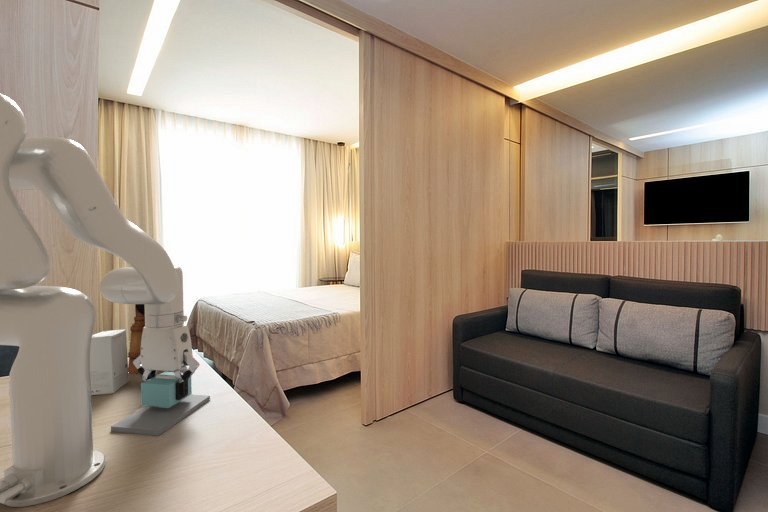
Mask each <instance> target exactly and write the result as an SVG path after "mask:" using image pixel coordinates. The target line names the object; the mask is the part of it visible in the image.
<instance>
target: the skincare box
mask: <svg viewBox="0 0 768 512" xmlns="http://www.w3.org/2000/svg"><path fill="white" fill-rule="evenodd" d="M127 344H128V343H127V329H114V330H103V331H100V332H98V333H93V334H92V338H91V345H90V381H91V396H96V395H97V396H98V395H110V394H111V395H113V394H115V393H116V392H117V391H118V390H120V388H122V387H123V386H125V385H126V384H127V383H129V382H130V381H129V380H130V379H129V373H128V365H129V357H128V345H127Z"/></svg>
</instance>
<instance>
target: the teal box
mask: <svg viewBox="0 0 768 512" xmlns="http://www.w3.org/2000/svg"><path fill="white" fill-rule="evenodd" d="M181 374H182V375H183V373H181ZM177 382H178V381H177V379H176V377H175V375H174V373H173V372H163V373H161V374H158V375H156V376H155V377H153V378H151V379H148V380H146V381H144V380H143V382H140V399H141V400H140V405H141V406H144V407H146V406H156V407H168V408H170V407H171V406H173V405H175V404H176V403H178V402H179V401H181V400H183V399H184V398H186V397H188V396H189V395H191V394H192V393H193V392H192V391H193V390H192V376H191V377H190V378H189V379H188V395H187V396H185V397H184V398H182V399H181V400H176V383H177ZM192 395H193V394H192Z"/></svg>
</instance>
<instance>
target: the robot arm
mask: <svg viewBox="0 0 768 512" xmlns="http://www.w3.org/2000/svg"><path fill="white" fill-rule="evenodd" d="M27 125H28V124H27V120H26V118H25V115H24V113H23V111H22V109H21V108H20V107H19V105H18V104H17V103H16V102H15V101H14V100H13V99H11V98H10V97H9V96H7V95H5V94H3V93H1V92H0V346H12V347H13V346H14V347H19V348H18V352H17V355H16V357H15V359H14V361H13V363H12V366H11V369H10V372H9V375H8V397H9V412H10V435H11V454H12V465H11V466H9V467H7V468H5V469H4V470H3V471H4V472H3V474H4V475H3V476H4V477H2V478H1V479H0V504H2V505H5V506H7V507H13V508H15V507H16V508H20V507H30V506H35V505H39V504H44V503H47V502H50V501H53V500H56V499H60V498H61V497H64V496H65V495H68V494H70V493H73V492H75V491H76V490H78V489H80V488H82V487H83V486H85V485H87V484H89V482H91V481H93V480H94V479H95V478H96V477H97V476H99V475H100V474H101V472H102V471H103V470H104V467H105V465H106V456H105V453H103V452H102V451H99V450H96V449H94V433H93V413H92V412H93V411H92V410H93V409H92V395H91V381H90V345H91V338H92V335H93V334H94V333H93V332H94V330H95V329H94V328H95V322H96V315H97V314H96V308H95V305H94V302H93V300H91V298H89V296H88V295H86V294H85V293H83V292H81V291H80V290H77V289H74V288H70V287H66V286H65V287H64V286H57V285H55V286H54V285H52V286H50V285H38V284H39V283H41V282H43V281H44V280H45V279H46V278H47V277H48V276H49V275H50V273H51V270H52V267H53V262H52V261H53V260H52V257H51V255H50V252H49V250H48V247H46V245H45V243H44V241H43V240H42V238H41V237H40V235H39V233H38V232H37V230H36V229H35V226H34V225H33V224H32V222H31V221H30V219H29V218H28V217H27V215H26V213H25V211H24V210H23V209H22V207H21V205H20V203H19V201H18V200H17V198H16V196H15V193H14V192H13V190H18V191H38V190H39V192H41V193H42V195H43V197H44V198H45V199H46V202H48V204H49V206H50V207H51V209H52V210H53V211H54V213H55V214H56V216H57V217H58V219H59V220H60V222H61V223H62V225H63V226H64V228H65V229H66V231H67V232H68V233H69V234H70V236H71V237H73V238H74V239H76V240H78V241H80V242H82V243H84V244H86V245H89V246H91V247H93V248H96V249H98V250H101V251H104V252H106V253H109V254H111V255H113V256H116V257H117V258H119V259H121V260H123V261H124V262H125V263H127V264H129V265H130V266H131V267H126V266H125V267H117V268H114V269H112V270H110V271H108V272H107V273H105V274H104V275H103V276H102V278H101V279H100V282H99V285H98V286H99V287H98V288H99V293H100V294H101V296H102V297H103V298H104V299H105V300H107V301H109V302H112V303H114V304H119V305H121V304H122V305H135V304H144V305H145V327H144V328H143V332H142V339H141V355H140V356H139V357H138V358H136V359H135V360H134V361H133V364H134V365H135V366H136V368H137V369H138V372H139V373H140V374H139V375H140V376H141V379H142V381H143V382H144V381H146V380H148V379H151V378H153V377H155V375H156V373H157V371H172V372H173V373H174V375H175V377H176V379H177V381H178V382H177V383H176V400H181V399H182V398H184V397H185V396H187V395H188V379H189V378H190V377H191V378H192V376H193V374H195V372H196V370H197V369H198V368H199V367H200V365H201V364H200V362H199V361H198V360H197V359H196V358H195V357H194V356H193V346H192V339H191V333H190V330H189V326H188V324H187V323H186V321H187V320H188V316H187V315H184V313H185V311H184V310H185V309H184V283H183V282H184V280H183V279H184V278H183V270H182V268H181V267H179V266H178V265H174V264H173V262H172V260H171V258H170V256H169V254H168V253H167V251H166V250H165V249H164V247H163V246H162V245H161V244H160V243H159V242H158V241H156V239H154V238H153V237H151V235H149V234H148V233H147V232H146V231H144V230H143V229H142V228H140V227H139V226H137V225H136V224H135V223H133V222H132V221H130V220H129V219H127V217H125V215H124V214H123V212H122V210H121V209H120V207H119V205H118V204H117V201H116V200H115V198H114V197H113V195H112V193H111V191H110V190H109V188H108V186H107V184H106V183H105V181H104V179H103V177H102V175H101V173H100V171H99V170H98V168H97V166H96V164H95V162H94V160H93V159H92V157H91V156H90V154H89V153H88V151H87V150H86V149H85V148H84V147H83V146H82V144H80V143H79V142H76V141H74V140H72V139H70V138H66V137H65V138H64V137H61V136H60V137H59V136H32V137H31V136H29V137H28V136H27V133H28V132H27V130H28V126H27ZM187 366H188V367H187ZM180 370H181V371H182V373H183V375H182V374H181V372H180Z"/></svg>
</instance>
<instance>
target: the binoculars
mask: <svg viewBox="0 0 768 512" xmlns="http://www.w3.org/2000/svg"><path fill="white" fill-rule="evenodd" d="M134 305H135V306H134V307H135V309H134V311H135V316H134V317H133V321H134V322H133V323H132V324H131V326H130V327H129V328H130V330H129V331H130V342H129V351H128V352H127V358H128V372H129V373H128V374H131V373H139V372H138V369H137V368H136V366H135V365H134V364H133V361H134V360H135V359H136V358H138V357H139V356H140V355H141V339H142V332H143V328H144V327H145V305H144V304H134ZM155 376H156V375H155Z"/></svg>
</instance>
